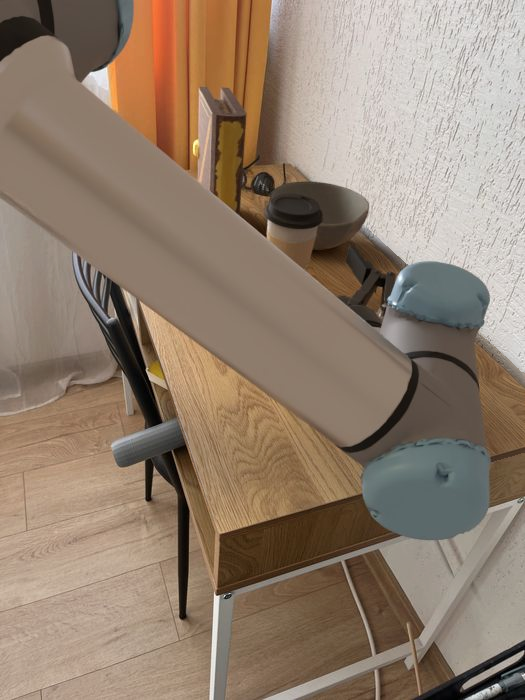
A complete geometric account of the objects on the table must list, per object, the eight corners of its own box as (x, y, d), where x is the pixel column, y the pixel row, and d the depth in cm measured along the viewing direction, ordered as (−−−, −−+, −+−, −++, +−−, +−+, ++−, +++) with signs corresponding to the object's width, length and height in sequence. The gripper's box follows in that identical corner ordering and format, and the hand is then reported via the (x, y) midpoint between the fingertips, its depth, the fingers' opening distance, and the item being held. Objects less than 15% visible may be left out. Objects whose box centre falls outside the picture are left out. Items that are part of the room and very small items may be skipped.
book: (244, 241, 111) (254, 116, 95) (204, 242, 109) (207, 115, 93) (226, 197, 127) (231, 84, 111) (190, 197, 125) (191, 82, 109)
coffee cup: (314, 276, 95) (328, 197, 86) (306, 304, 88) (320, 221, 79) (263, 266, 96) (272, 187, 87) (251, 292, 89) (259, 210, 80)
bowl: (290, 212, 123) (295, 170, 117) (371, 238, 117) (382, 195, 111) (247, 246, 109) (251, 200, 103) (338, 277, 103) (348, 230, 96)
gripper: (247, 385, 58) (216, 280, 73) (448, 366, 64) (379, 273, 79) (253, 331, 53) (218, 231, 69) (469, 316, 59) (392, 228, 75)
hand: (304, 254), depth 74 cm, fingers open, 13 cm apart
